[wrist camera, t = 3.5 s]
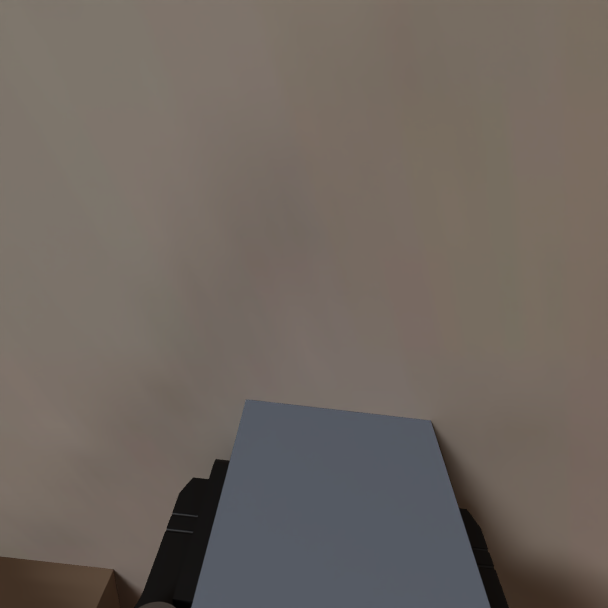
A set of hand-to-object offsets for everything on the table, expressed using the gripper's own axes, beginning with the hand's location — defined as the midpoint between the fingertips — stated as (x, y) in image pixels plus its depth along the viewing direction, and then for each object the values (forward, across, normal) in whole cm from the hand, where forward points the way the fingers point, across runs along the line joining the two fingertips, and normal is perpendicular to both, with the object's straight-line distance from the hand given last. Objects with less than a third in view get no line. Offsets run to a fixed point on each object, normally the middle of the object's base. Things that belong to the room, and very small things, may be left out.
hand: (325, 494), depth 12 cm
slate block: (+1, 0, 0) cm, 1 cm away
